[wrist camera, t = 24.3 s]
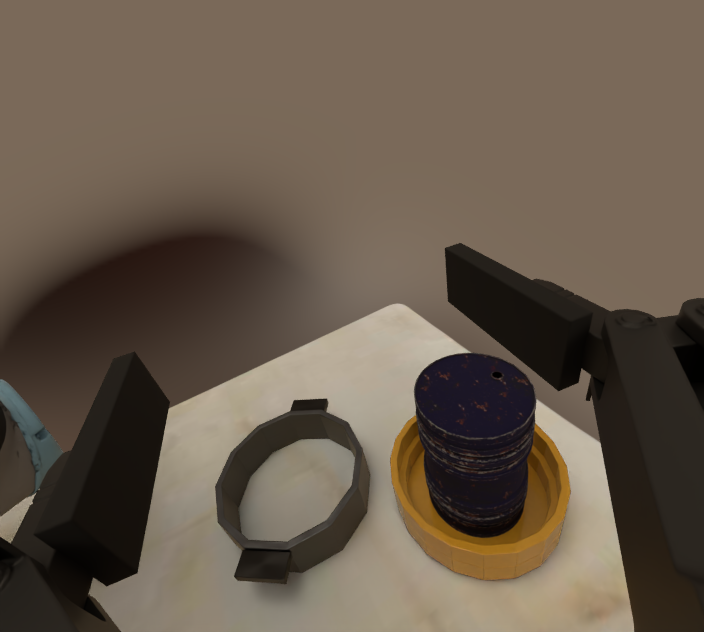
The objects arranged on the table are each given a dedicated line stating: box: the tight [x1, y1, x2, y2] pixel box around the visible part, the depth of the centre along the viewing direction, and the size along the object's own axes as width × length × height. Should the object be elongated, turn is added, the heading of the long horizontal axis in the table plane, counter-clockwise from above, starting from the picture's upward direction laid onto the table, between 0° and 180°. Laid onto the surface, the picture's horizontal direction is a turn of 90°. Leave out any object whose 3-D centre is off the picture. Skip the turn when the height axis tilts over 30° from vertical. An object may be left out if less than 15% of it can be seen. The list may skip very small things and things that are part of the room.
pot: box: [215, 399, 370, 584], centre depth 40 cm, size 21×16×5 cm
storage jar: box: [414, 353, 536, 538], centre depth 33 cm, size 10×10×15 cm
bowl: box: [390, 415, 571, 580], centre depth 36 cm, size 16×16×6 cm
